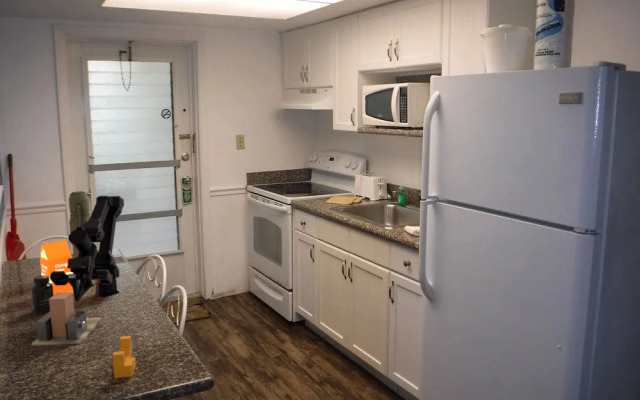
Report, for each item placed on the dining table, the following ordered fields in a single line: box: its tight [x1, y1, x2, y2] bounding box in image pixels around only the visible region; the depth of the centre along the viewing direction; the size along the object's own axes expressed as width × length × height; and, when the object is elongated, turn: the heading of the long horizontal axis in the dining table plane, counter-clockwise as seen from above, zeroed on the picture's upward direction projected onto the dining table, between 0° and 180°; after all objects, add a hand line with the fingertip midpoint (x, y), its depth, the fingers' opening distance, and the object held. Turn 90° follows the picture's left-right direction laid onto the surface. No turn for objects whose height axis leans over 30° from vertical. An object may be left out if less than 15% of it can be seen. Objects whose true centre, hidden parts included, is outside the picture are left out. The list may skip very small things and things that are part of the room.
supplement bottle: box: [30, 275, 54, 314], centre depth 192 cm, size 7×7×12 cm
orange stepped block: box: [112, 335, 137, 379], centre depth 149 cm, size 12×4×6 cm, turn 10°
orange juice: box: [39, 239, 74, 295], centre depth 209 cm, size 8×9×20 cm
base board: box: [31, 317, 103, 346], centre depth 174 cm, size 19×14×1 cm
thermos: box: [68, 191, 94, 258], centre depth 232 cm, size 9×12×35 cm
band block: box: [36, 310, 87, 341], centre depth 169 cm, size 8×13×6 cm, turn 93°
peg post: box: [49, 292, 75, 337], centre depth 170 cm, size 6×4×12 cm
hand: (76, 301), depth 180 cm, fingers closed
